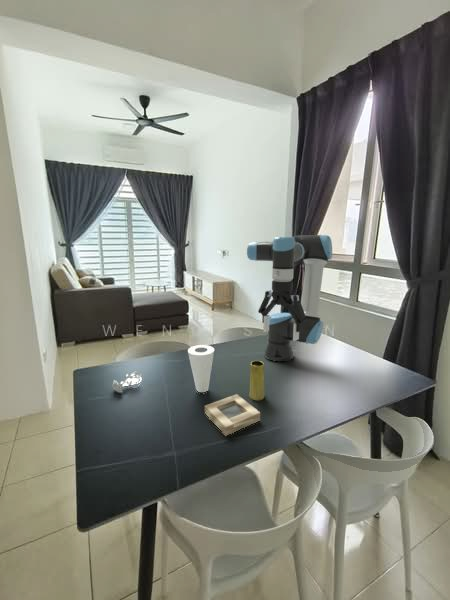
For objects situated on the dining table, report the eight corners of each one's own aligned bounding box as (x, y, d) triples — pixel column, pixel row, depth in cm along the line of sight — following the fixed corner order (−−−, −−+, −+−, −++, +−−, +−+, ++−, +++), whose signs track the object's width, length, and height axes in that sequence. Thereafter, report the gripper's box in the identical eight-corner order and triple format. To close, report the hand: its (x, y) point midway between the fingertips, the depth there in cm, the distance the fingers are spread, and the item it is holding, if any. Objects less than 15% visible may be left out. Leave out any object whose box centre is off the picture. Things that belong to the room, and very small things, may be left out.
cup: (195, 400, 111) (193, 357, 107) (185, 387, 121) (184, 347, 117) (219, 393, 116) (218, 351, 112) (208, 381, 125) (207, 343, 121)
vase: (263, 401, 110) (264, 367, 107) (248, 399, 111) (248, 366, 108) (264, 393, 116) (265, 360, 113) (249, 391, 117) (250, 359, 114)
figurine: (108, 379, 119) (135, 367, 126) (112, 392, 121) (139, 379, 128) (114, 387, 112) (143, 373, 118) (119, 401, 114) (147, 386, 120)
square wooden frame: (204, 414, 102) (204, 405, 102) (236, 402, 110) (236, 394, 109) (225, 436, 91) (225, 427, 90) (260, 421, 98) (260, 412, 97)
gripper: (250, 277, 110) (249, 330, 115) (307, 285, 93) (304, 346, 97) (262, 276, 115) (261, 326, 120) (319, 282, 98) (315, 341, 102)
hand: (280, 335), depth 108 cm, fingers open, 13 cm apart
